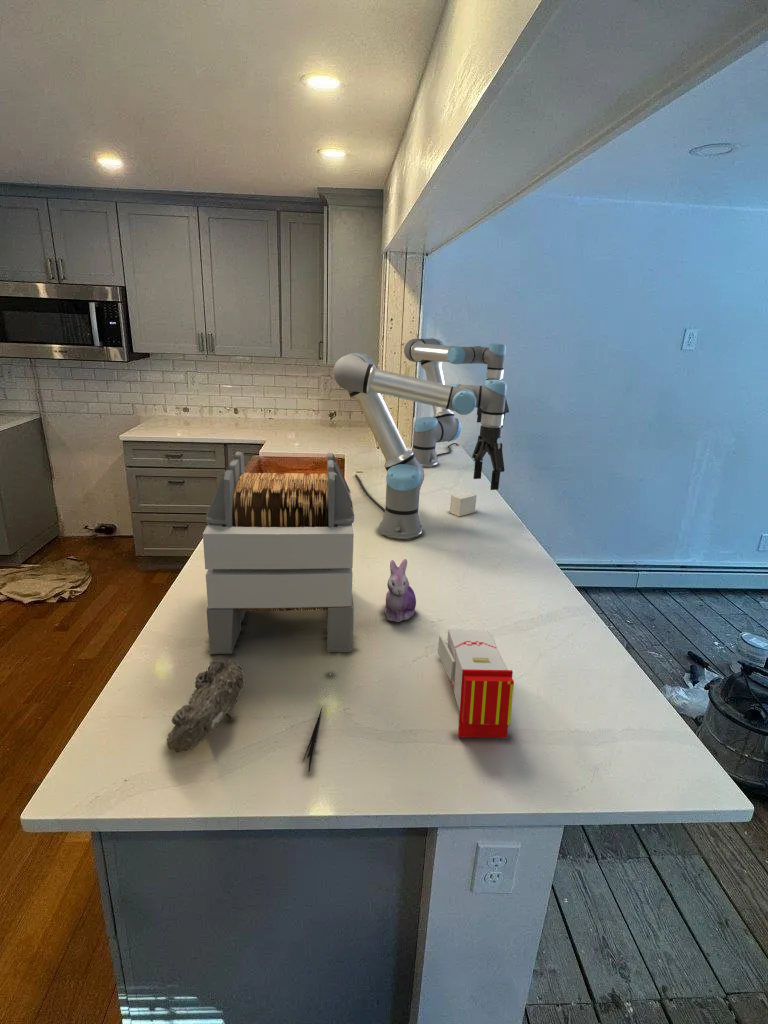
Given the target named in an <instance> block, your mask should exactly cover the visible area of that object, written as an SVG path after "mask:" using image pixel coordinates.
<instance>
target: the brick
mask: <svg viewBox="0 0 768 1024" xmlns="http://www.w3.org/2000/svg"><path fill="white" fill-rule="evenodd" d="M477 497H478V496H477V494H475V493H472V492H469V491H465V492H461V493H456V494H452V495H450V505H449V513H450V514H452V515H455V516H457V517H462V516H467V515H470V514H473V513H476V504H477Z"/></svg>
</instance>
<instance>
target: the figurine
mask: <svg viewBox="0 0 768 1024" xmlns="http://www.w3.org/2000/svg"><path fill="white" fill-rule="evenodd" d="M407 567H408V559H406V558H404V559H403V560H402V561H401V563H400V565H399V566H398V565H397V563H396V562H395V561H394V560H393V559H391V560H390V561H389V570H390V576H389V578H388V579H387V589H388V591H387V592H386V594H385V595H386V596H385V607H384V615H385V616H386V620H387V621H391V622H395V623H400V622H402V621H406V620H409V619H410V618H411V617H413V616H414V615H415V610H416V606H417V597H416V593H415V591H414V590H413V587H411V586H410V582H409V579H408V577H407V574H406V571H407Z"/></svg>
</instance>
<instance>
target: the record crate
mask: <svg viewBox="0 0 768 1024" xmlns="http://www.w3.org/2000/svg"><path fill="white" fill-rule="evenodd" d="M244 455H245V454H244V451H242V452H241V451H236V452H235V454H234V456H233V458H232V459H230V463H229V465H228V467H227V469H226V470H224V473H223V475H222V478H221V479H220V482H219V484H218V487H217V489H216V491H215V494H214V495H213V497H212V500H211V502H210V505H209V507H208V509H207V511H206V515H205V523H206V524H207V525H206V527H205V529H204V531H203V533H202V543H203V558H204V569H205V570H206V573H205V584H206V587H205V588H206V598H207V599H206V601H207V607H206V623H207V634H208V641H209V642H208V643H209V650H208V653H209V655H216V654H217V655H218V654H221V655H222V654H223V655H226V654H227V655H228V654H230V655H231V654H232V653H233V650H234V648H235V647H236V643H237V641H238V638H239V636H240V634H241V630H242V626H241V625H242V623H241V622H243V621H244V618H245V615H246V612H272V611H273V612H279V611H280V612H284V611H286V612H288V611H289V612H291V611H292V612H293V611H294V612H295V611H303V612H304V611H322V610H323V611H326V636H327V637H326V641H327V645H326V646H327V652H329V653H330V652H332V653H333V652H343V653H349V652H351V651H352V650H354V617H355V616H354V614H355V607H354V598H353V575H354V573H353V566H354V563H353V562H354V537H355V536H354V535H355V532H354V527H353V524H354V522H355V511H354V506H353V505H354V504H353V500H352V495H351V489H350V487H349V485H348V483H347V480H346V479H345V476H344V474H343V472H342V470H341V467H340V465H339V463H338V461H337V459H336V457H335V455H334V453H333V452H327V453H326V456H327V457H326V468H327V469H326V473H320V474H318V473H307V474H306V473H303V472H302V473H299V472H298V473H297V472H294V473H293V472H292V473H291V472H290V473H288V472H283V473H276V472H273V473H271V472H263V473H262V472H259V473H258V472H253V473H252V472H245V468H246V467H245V456H244Z"/></svg>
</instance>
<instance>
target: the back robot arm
mask: <svg viewBox="0 0 768 1024" xmlns="http://www.w3.org/2000/svg"><path fill="white" fill-rule="evenodd" d="M403 353H404V357H405V358H406V359H407V360H408V361H410V362H413V363H420V366H421V369H423V370H424V371H425V375H426V380H427V381H432V382H436V383H440V384H445V385H446V383H445V378H444V377H445V376H444V372H443V368H442V365H443V364H444V363H449V364H453V365H464V364H465V365H466V364H468V365H469V364H470V365H472V364H473V365H475V364H477V365H478V364H480V365H481V364H482V365H486V374H485V375H486V376H485V378H486V379H485V381H486V380H501V381H503V379H504V370H505V361H506V356H507V346H506V344H504V343H489V346H482V345H473V346H459V345H457V346H456V345H445V344H444V342H443V341H442V340H441V339H439V338H433V337H431V338H430V337H429V338H412V339H410V340H408V341H407V342H406V343H405V344H404V347H403ZM432 411H433V416H422V417H419V418H416V419H415V420H414V423H413V435H412V449H411V451H412V452H413V453H414V456H415V458H416V460H417V461H418V462H419V463H420V464H421V465H422V467H423V468H433V467H437V466H438V465H439V460H438V459H439V458H438V457H439V456H442V455H443V456H445V455H449V454H450V453H451V452H452V449H451V447H452V446H454V445H456V446H459V444H458V443H457V442H453V441H455V440H457V439H459V437H460V435H461V433H462V423H461V420H459V418H457V417H456V416H455V413H454V411H452V410H448V409H445V408H440V407H436V406H432ZM508 413H510V408H509V404H508V401H507V399H506V400H505V408H504V418H503V422H504V421H505V418H506V414H508ZM476 416H477V417H476V423H477V424H478V423H481V416H482V408H477V409H476ZM501 427H502V428H503V427H504V424H503V425H502V426H501ZM445 442H447V443H450V442H452V443H450V444H448V445H447V448H448V450H449V451H447V452H441V453H438V454H437V450H436V445H437V443H445Z"/></svg>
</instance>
